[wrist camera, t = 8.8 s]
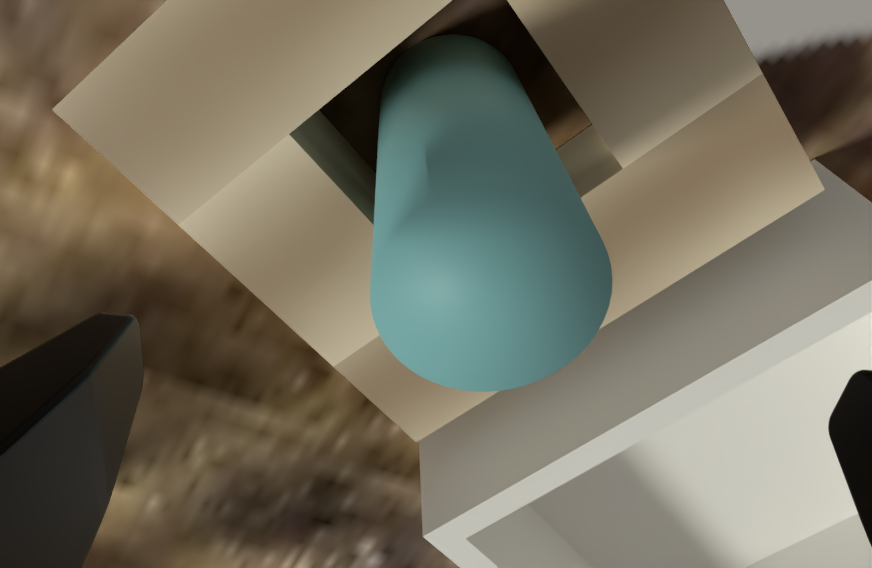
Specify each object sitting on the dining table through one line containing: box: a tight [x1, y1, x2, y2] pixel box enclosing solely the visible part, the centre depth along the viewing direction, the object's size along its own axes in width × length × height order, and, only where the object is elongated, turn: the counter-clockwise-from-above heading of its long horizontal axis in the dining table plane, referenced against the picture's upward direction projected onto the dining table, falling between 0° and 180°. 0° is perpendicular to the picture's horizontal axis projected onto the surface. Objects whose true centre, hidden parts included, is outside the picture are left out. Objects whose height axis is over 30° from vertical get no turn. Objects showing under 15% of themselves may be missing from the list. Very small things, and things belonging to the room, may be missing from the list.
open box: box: [419, 159, 872, 568], centre depth 23 cm, size 14×14×5 cm
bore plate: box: [52, 0, 825, 442], centre depth 17 cm, size 12×12×3 cm
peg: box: [370, 34, 613, 392], centre depth 15 cm, size 4×4×9 cm
